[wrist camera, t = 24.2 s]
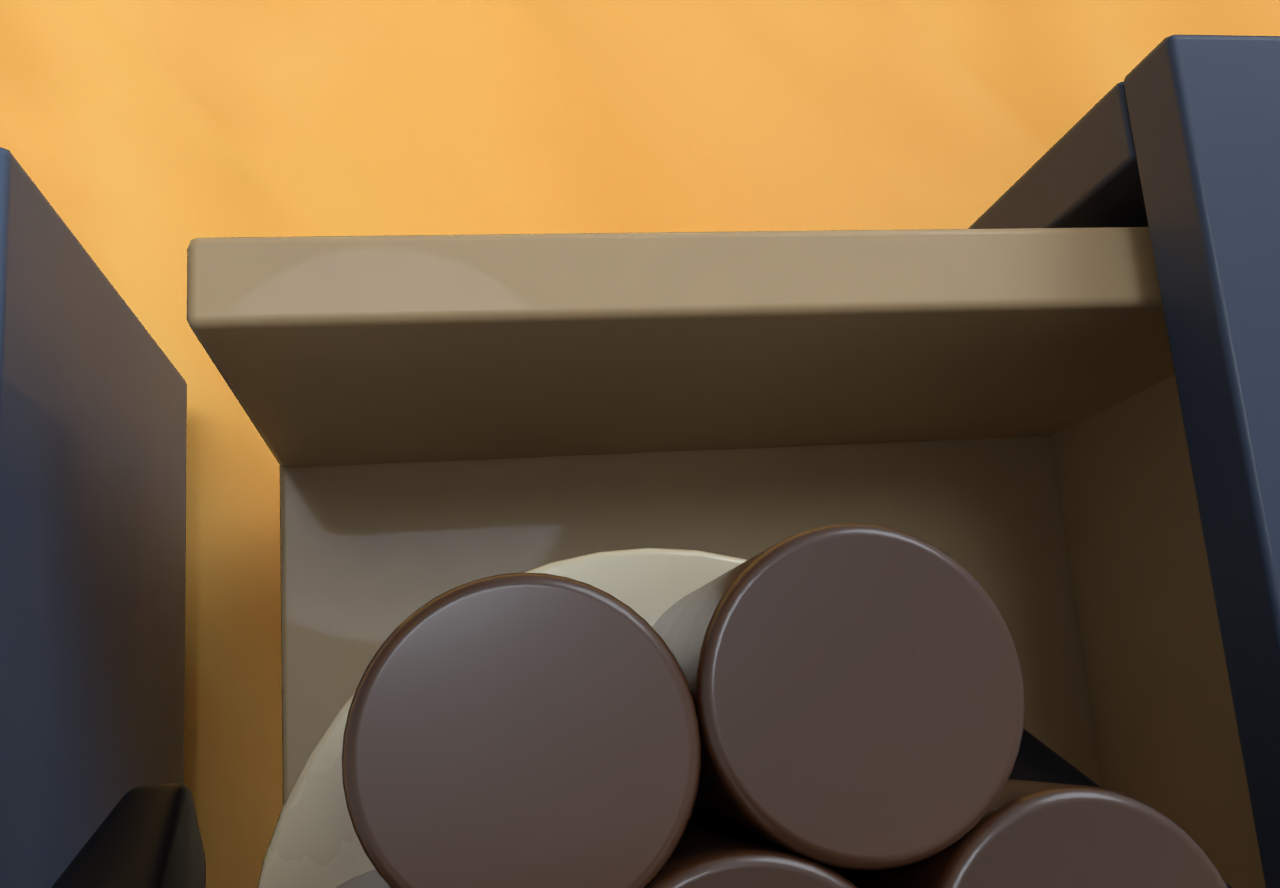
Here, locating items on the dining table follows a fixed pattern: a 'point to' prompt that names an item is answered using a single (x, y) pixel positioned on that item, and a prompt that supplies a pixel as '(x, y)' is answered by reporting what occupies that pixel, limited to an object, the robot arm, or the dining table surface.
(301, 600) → the drawer
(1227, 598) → the cabinet
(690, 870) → the bundle
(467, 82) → the dining table surface
